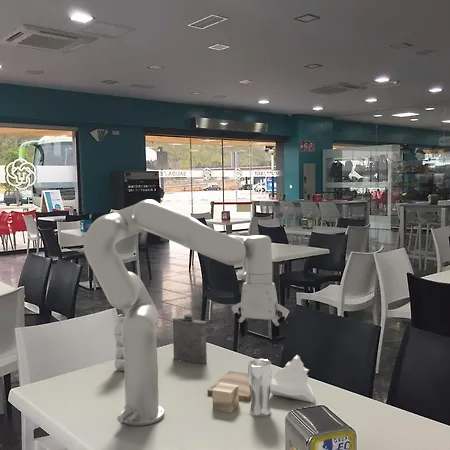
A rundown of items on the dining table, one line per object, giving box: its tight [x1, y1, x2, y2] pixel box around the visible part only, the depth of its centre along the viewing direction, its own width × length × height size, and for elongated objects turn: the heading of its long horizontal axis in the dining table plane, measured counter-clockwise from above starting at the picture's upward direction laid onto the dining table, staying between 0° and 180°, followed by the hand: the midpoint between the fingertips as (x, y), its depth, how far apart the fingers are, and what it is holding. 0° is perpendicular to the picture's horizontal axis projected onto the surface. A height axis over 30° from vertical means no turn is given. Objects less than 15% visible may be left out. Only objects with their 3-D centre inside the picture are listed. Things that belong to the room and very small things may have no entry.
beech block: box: [211, 383, 240, 413], centre depth 156 cm, size 6×6×6 cm
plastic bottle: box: [113, 314, 126, 372], centre depth 188 cm, size 6×7×20 cm
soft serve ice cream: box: [270, 354, 315, 404], centre depth 163 cm, size 12×15×14 cm
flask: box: [172, 313, 208, 365], centre depth 196 cm, size 4×14×18 cm, turn 62°
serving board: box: [207, 370, 251, 402], centre depth 171 cm, size 18×14×2 cm
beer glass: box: [247, 358, 273, 418], centre depth 151 cm, size 7×7×15 cm
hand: (260, 336), depth 150 cm, fingers open, 9 cm apart
